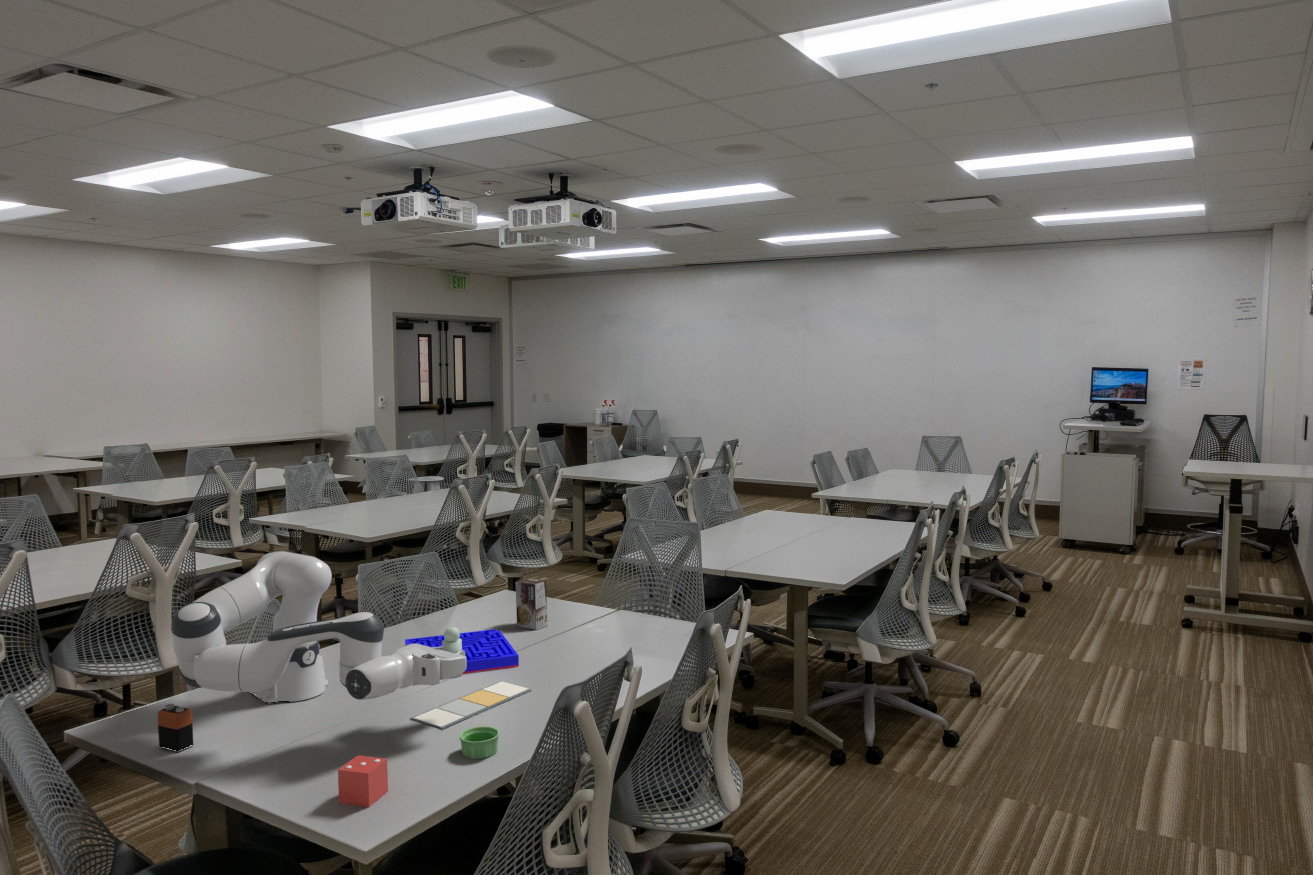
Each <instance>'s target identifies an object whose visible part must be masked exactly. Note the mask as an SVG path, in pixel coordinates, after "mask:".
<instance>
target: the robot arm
mask: <svg viewBox="0 0 1313 875" xmlns="http://www.w3.org/2000/svg"><path fill="white" fill-rule="evenodd" d="M332 575H333V573H332V570H331V567H330V566H329V565H328V563H325V562H324V561H323V560H321V559H320V558H317V557H316V556H311V555H306V554H300V553H294V552H289V551H282V550H281V551H273V552H268V553H266V554H263V555H262V556H261V557H260V558H259V559H258V561H257V563H256V565H255V566H254V567H253V568H251V569H250V570H248V571H247V572H246V573H244V574H243V575H241V576H239V577H236V578H234V579H233V580H231V581H228V582H227V583H224V584H223V585H221V586H219V587H216V588H214V589H212V590H210V591H208V592H206V593H205V594H204V595H202V596H200V597H199V598H197V599H196V600H194V601H192V602H190V603H187V604H185V605H183V606H182V607H180V608H179V609H178V610H177V611H176V612H174V614H173V615H172V618H171V624H170V630H171V633H172V646H173V652H174V654H175V657H176V661H177V665H178V667H179V673H180V676H181V678H182V679H183V681H184V683H185V684H186V685H188V686H191V687H194V688H200V689H201V688H204V689H208V690H212V691H218V692H219V691H220V692H234V693H235V692H237V693H239V692H240V693H241V692H242V693H244V692H245V693H246V692H247V693H250V692H252V693H254V694H256V695H257V696H258V697H260V698H261V699H263V700H264V701H265V702H276V703H279V702H278V701H289V702H301V701H304V700H309V699H313V698H315V697H317V696H319V695H320V696H321V695H322V694H323V693H324V692H325V691H326V687H327V686H328V684H329V679H327V678H325V668H324V661H323V656H321V655H319V654H320V647H321V646H320V641H325V640H329V639H337V640H339V665H338V666H339V668H338V669H339V682H340V683H341V685H342V686H344V687H345V688H346V690H347V692H348V694H349V696H351V697H352V698H353V699H355V700H358V701H365V700H371V699H376V698H380V697H382V696H386V695H390V694H392V693H394V692H396V691H397V690H398V689H405V688H408V687H411V686H420V685H422V686H436V685H438V684H440V683H441V681H445V680H448V679H449V678H451V677H454V676H456V675H459V674H461V673H463V672H464V671H465V670H466V668H467V660H466V656H465V651H463V650H458V651H456V654H455V653H451V652H448V651H444V650H443V648H442V646H441V647H428V646H424V645H420V644H409V645H407V646H405V645H404V646H402V647H400V648H397V649H396V650H395V651H394V652H393V653H391V654H390V655H383V640H384V631H385V624H384V622H383V621H382V620H381V619H380V618H379V616H378V615H376V614H375V613H374V612H371V611H370V612H369V611H362V612H355V613H350V614H348V615H344V616H340V617H334V618H329V619H323V620H317V619H318V618H317V617H318V609H319V604H320V601H321V597H322V596H323V594H324V593H326V591H327V590H328V589H329V587H330V585H331V582H332V580H333V579H332V578H333V576H332ZM279 596H282V599H281V600H282V601H281V603H280V607H279V610H278V611H277V612H275V614H274V616H273V617H272V618H273V619H272V623H273V624H272V625H273V626H272V627H273V628H272V629H273V631H271V632H270V633H269V635H268V636H267V637H266V639H263V640H260V641H258V642H253V643H232V644H227V639H226V636H225V632H228V631H230V630H231V629H234V628H236V627H238V626H239V625H242V624H244V623H245V622H247V621H250V620H251V619H253V618H255V617H257V616H259V615H260V614H262V613H264V612H265V611H266V610H267V609H268V606H269V603H271V602H272V601H273V600H275V598H277V597H279ZM265 702H264V703H265ZM289 702H288V703H289Z"/></svg>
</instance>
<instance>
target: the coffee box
mask: <svg viewBox="0 0 1313 875" xmlns="http://www.w3.org/2000/svg"><path fill="white" fill-rule="evenodd" d="M547 599H548V598H547V580H545V579H539V578H530V577H526V578H522V579H519V580H517V581H515V600H516V601H515V602H516V606H515V607H516V627H517V626H518V627H517V628H524V629H529V630H536V631H537V630H540V629H542V628H545V627H547V626H548V608H547V601H548V600H547Z"/></svg>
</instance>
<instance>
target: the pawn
mask: <svg viewBox="0 0 1313 875" xmlns="http://www.w3.org/2000/svg"><path fill="white" fill-rule="evenodd" d="M460 633H461V632H460V630H459V628H457V627H455V626H449V627H448V628H446V629H445V631H444V632H443V635H444V639H445V640H443V641H442V648H443V650H444V651H448V652H451V653H455V654H456V651H458V650H462V640H461V639H460V638H459V637H460ZM463 675H464V674H462V673H461V674H459V675H456V676H454V677H451V678H449V679H450V680H451V679H457V678H461V677H462V676H463Z"/></svg>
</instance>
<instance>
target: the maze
mask: <svg viewBox="0 0 1313 875" xmlns="http://www.w3.org/2000/svg"><path fill="white" fill-rule="evenodd" d="M459 638H460V639H461V640H462V650H463V651H465V656H466V660H467V668H466V670H465V671H464V672H463V673H462V674H463V675H464V673H466V674H470V673H471V672H474V673H478V672H477V671H481V672H486V671H485V670H489V671H494V670H493V669H496V670H502V669H503V668H504V669H509V668H510V667H511V668H517V667H519V666H520V665H519V662H520V659H519V658H520V657H519V654H518V652H517V651H516V650H515V648H514V647H513V646H512V645H511V643H510V642H509V640H508V639H507V638H506V637H505V636H504V634H503V633H502V632H501V630H497V629H496V628H494V629H484V630H476V631H475V630H474V631H468V632H460V637H459ZM443 640H445V639H444V634H442V635H434V636H433V635H431V636H423V637H415V638H406V639H404V646H407V645H409V644H420V645H424V646H428V647H441V646H442V641H443ZM471 674H472V673H471Z"/></svg>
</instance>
